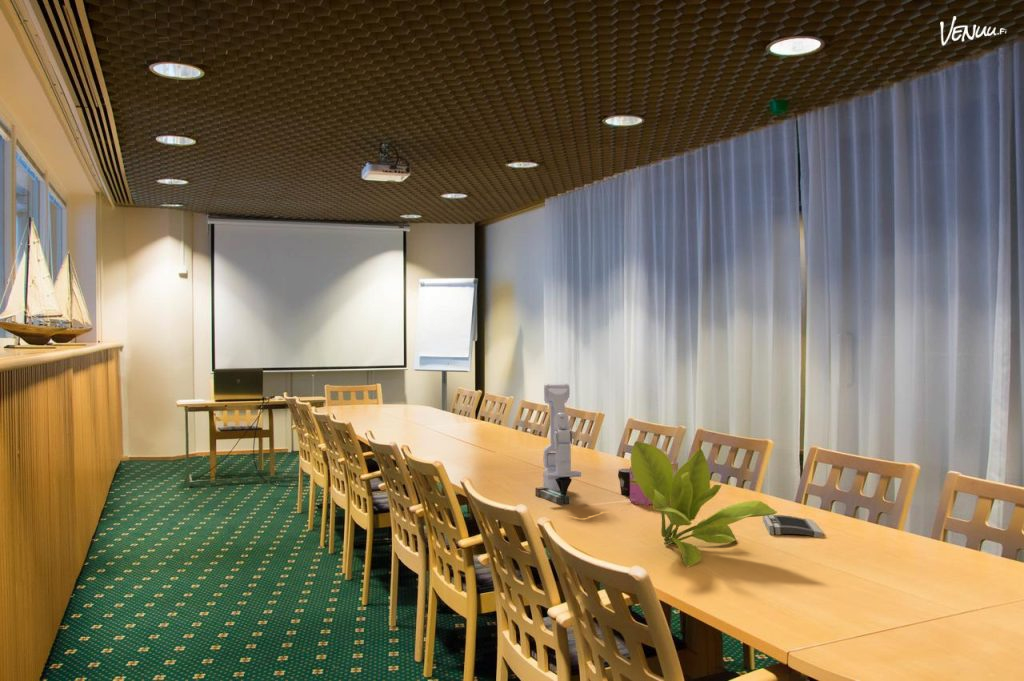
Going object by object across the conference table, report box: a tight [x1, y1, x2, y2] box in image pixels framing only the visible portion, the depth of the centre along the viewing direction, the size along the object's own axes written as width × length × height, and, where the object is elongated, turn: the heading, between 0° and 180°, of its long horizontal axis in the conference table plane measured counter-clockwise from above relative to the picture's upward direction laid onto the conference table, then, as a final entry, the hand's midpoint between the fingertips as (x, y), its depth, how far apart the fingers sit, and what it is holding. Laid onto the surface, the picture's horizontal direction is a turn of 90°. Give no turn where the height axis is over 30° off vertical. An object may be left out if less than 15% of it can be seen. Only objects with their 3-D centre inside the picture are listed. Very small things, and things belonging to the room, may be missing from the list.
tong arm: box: [547, 490, 570, 505], centre depth 286 cm, size 14×2×3 cm, turn 26°
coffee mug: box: [617, 467, 630, 497], centre depth 299 cm, size 12×9×10 cm
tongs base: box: [534, 486, 565, 506], centre depth 288 cm, size 19×4×4 cm, turn 26°
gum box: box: [629, 461, 679, 506], centre depth 291 cm, size 24×8×14 cm, turn 136°
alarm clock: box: [762, 514, 824, 538], centre depth 245 cm, size 17×5×16 cm
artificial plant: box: [630, 441, 778, 568], centre depth 224 cm, size 42×43×30 cm
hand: (563, 497), depth 285 cm, fingers closed
